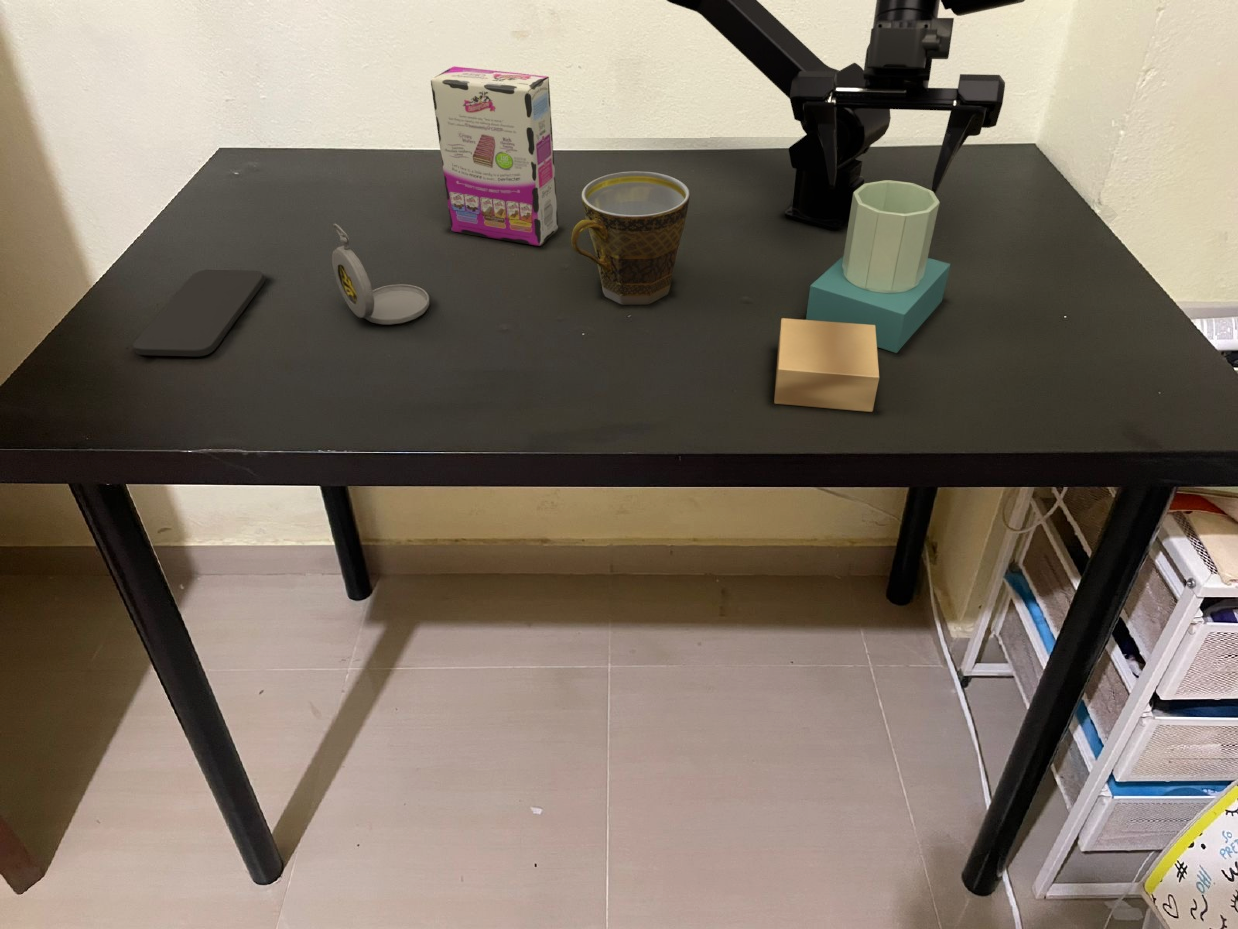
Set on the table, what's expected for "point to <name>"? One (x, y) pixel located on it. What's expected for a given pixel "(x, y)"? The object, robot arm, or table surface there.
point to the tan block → (827, 365)
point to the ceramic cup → (634, 233)
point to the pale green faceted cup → (889, 236)
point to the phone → (200, 313)
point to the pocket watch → (380, 303)
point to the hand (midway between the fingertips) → (881, 190)
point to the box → (878, 303)
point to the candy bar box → (497, 153)
